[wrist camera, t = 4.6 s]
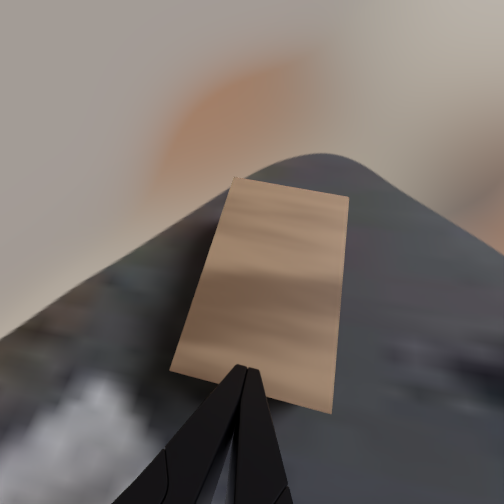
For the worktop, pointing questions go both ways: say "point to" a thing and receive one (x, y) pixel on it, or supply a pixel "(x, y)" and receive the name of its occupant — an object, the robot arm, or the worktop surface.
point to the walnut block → (271, 293)
